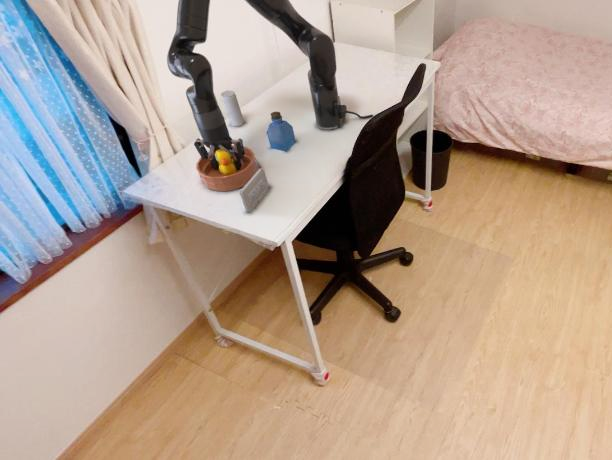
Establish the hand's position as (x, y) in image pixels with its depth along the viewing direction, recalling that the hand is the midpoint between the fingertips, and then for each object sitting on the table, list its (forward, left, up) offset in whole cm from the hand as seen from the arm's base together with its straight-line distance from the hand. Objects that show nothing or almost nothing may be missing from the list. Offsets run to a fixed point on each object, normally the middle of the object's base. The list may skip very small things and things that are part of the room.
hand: (228, 168), depth 136 cm
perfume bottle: (-13, -17, -3) cm, 22 cm away
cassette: (-12, +12, -3) cm, 17 cm away
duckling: (0, 0, -2) cm, 2 cm away
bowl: (0, 0, -3) cm, 3 cm away
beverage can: (+7, -31, -3) cm, 32 cm away
